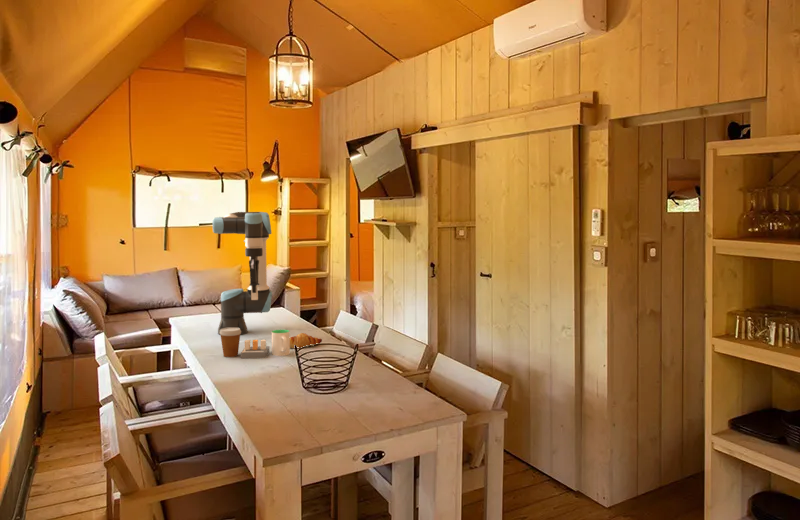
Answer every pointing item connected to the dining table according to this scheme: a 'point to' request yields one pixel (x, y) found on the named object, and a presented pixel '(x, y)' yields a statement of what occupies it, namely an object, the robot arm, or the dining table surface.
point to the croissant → (303, 340)
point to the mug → (280, 342)
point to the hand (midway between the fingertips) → (254, 299)
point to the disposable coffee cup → (230, 341)
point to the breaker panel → (255, 353)
